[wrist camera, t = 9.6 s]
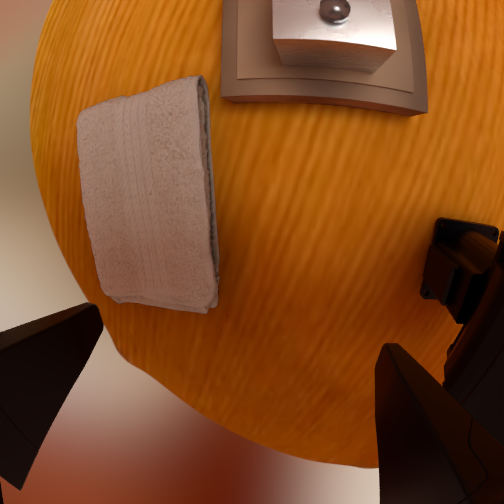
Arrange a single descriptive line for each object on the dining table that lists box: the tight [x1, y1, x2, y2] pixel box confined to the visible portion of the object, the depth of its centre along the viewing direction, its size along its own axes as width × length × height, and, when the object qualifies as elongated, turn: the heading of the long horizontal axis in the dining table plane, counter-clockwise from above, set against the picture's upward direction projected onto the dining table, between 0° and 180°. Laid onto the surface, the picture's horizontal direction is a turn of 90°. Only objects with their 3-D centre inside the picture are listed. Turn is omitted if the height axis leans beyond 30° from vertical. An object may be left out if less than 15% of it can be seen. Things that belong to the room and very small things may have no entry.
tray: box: [221, 0, 428, 116], centre depth 12 cm, size 12×12×3 cm
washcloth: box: [77, 75, 220, 314], centre depth 20 cm, size 12×18×3 cm, turn 3°
